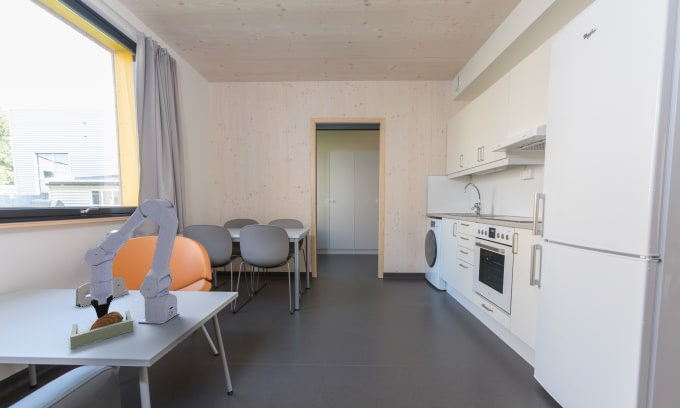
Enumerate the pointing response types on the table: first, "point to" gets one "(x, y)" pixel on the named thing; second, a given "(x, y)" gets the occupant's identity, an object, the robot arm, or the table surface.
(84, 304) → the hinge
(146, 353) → the table surface
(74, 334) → the chute dock
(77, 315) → the table surface
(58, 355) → the table surface
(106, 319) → the pastry
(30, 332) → the table surface
